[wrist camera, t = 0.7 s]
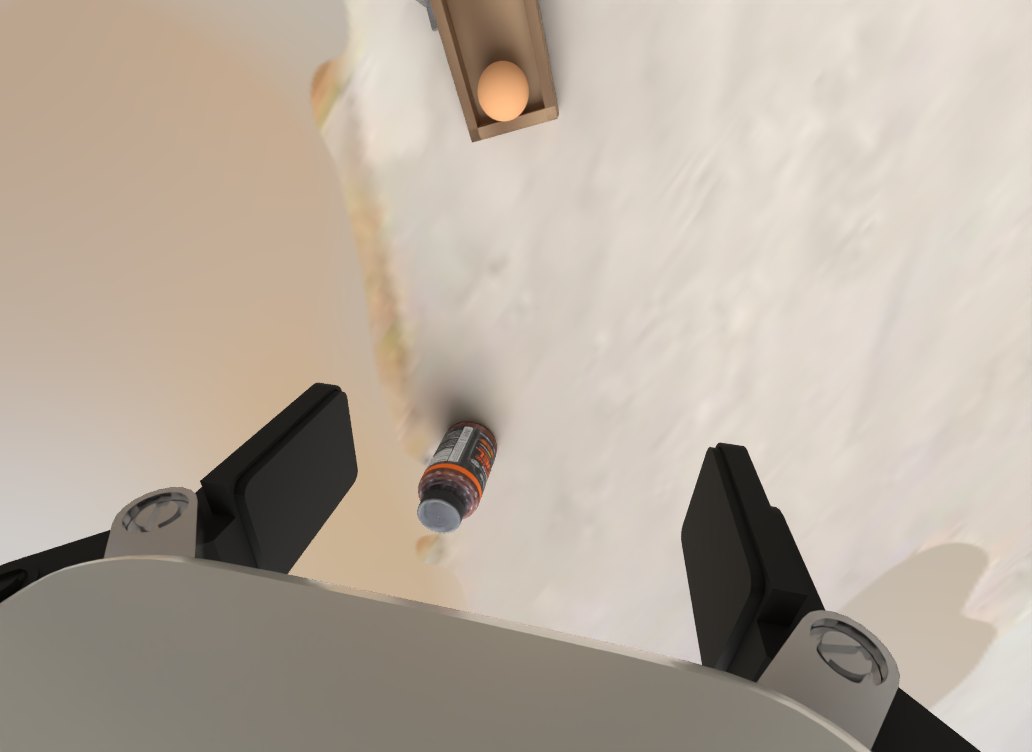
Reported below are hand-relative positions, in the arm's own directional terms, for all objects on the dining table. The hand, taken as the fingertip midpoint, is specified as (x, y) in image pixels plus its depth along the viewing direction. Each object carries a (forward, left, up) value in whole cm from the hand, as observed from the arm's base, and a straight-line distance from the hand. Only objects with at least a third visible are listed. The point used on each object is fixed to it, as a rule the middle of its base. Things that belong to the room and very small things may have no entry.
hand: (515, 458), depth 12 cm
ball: (+3, -11, -26) cm, 29 cm away
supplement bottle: (+15, +19, -30) cm, 39 cm away
